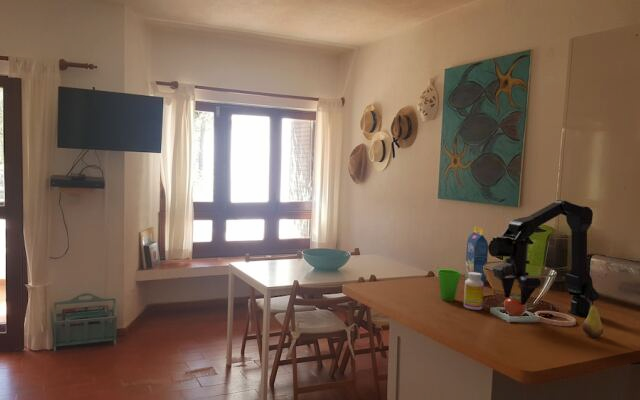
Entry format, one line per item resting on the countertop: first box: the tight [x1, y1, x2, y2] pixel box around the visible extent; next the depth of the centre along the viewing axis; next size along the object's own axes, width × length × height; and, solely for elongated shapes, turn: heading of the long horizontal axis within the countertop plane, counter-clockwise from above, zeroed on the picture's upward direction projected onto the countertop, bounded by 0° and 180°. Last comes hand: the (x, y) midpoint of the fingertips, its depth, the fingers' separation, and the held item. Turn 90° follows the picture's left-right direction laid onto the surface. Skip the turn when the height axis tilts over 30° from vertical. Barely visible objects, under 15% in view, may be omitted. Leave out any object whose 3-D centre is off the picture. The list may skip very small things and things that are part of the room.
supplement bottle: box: [463, 272, 485, 311], centre depth 176 cm, size 7×7×13 cm
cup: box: [437, 268, 462, 302], centre depth 187 cm, size 9×9×11 cm
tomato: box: [503, 292, 527, 317], centre depth 167 cm, size 7×7×8 cm
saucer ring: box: [533, 310, 577, 327], centre depth 166 cm, size 13×13×1 cm
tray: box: [489, 307, 540, 323], centre depth 167 cm, size 12×12×2 cm
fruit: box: [582, 297, 604, 338], centre depth 150 cm, size 6×6×12 cm
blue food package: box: [464, 226, 489, 284], centre depth 224 cm, size 6×12×25 cm, turn 0°
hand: (514, 301), depth 167 cm, fingers open, 9 cm apart
